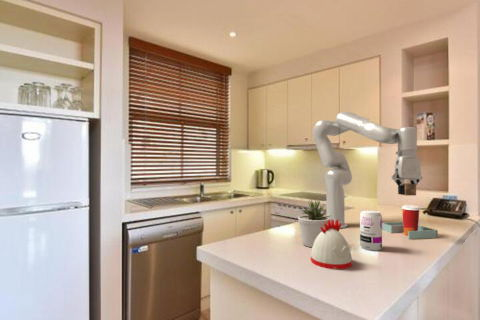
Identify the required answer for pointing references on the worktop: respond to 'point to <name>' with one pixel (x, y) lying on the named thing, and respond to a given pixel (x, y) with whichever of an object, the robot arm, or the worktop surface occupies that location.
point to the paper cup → (410, 218)
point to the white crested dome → (331, 248)
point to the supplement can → (371, 230)
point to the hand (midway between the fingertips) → (406, 193)
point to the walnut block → (409, 189)
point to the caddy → (420, 234)
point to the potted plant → (312, 223)
